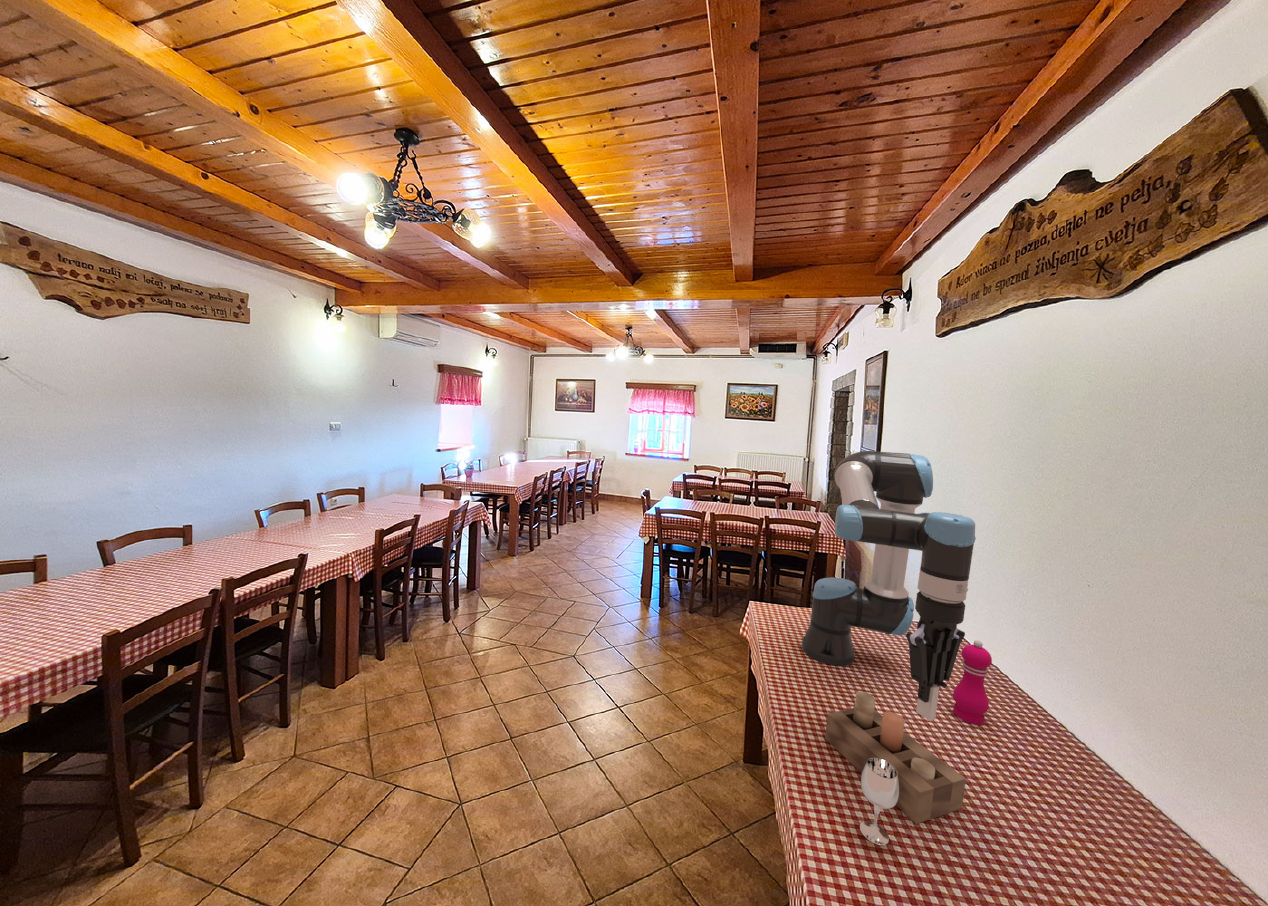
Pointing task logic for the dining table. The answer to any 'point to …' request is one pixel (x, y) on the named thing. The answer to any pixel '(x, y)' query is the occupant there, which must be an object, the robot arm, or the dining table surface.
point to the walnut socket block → (899, 766)
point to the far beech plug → (864, 710)
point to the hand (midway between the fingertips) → (925, 715)
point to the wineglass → (879, 795)
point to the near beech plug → (923, 769)
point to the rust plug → (892, 731)
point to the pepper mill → (972, 685)
